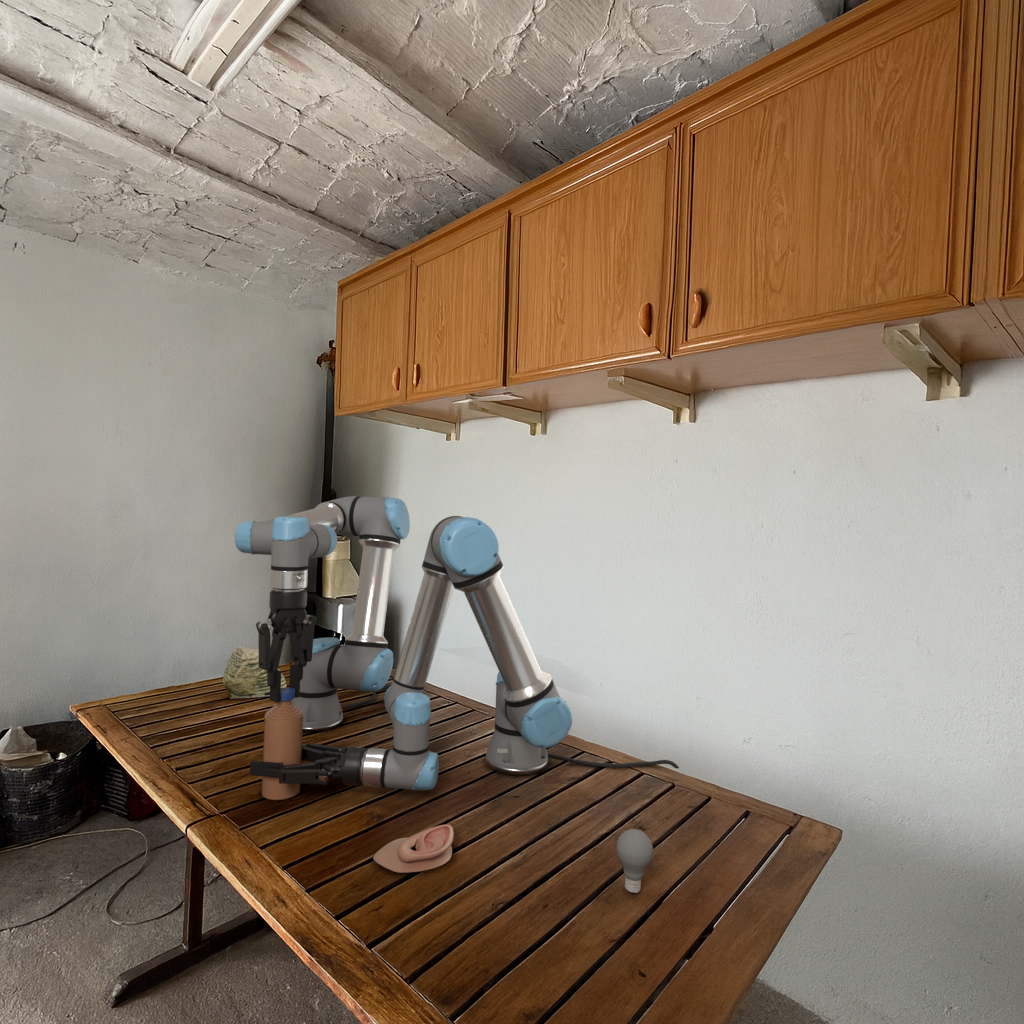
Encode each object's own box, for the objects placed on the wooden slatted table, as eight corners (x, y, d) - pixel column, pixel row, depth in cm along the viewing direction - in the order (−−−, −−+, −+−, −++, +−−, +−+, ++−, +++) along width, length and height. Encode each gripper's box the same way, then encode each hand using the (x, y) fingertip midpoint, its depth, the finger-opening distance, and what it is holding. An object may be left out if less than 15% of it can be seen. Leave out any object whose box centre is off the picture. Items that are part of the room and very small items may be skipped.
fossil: (218, 695, 195) (220, 647, 195) (278, 685, 208) (279, 640, 207) (228, 703, 189) (230, 653, 188) (289, 692, 201) (290, 645, 201)
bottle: (284, 780, 141) (287, 685, 140) (308, 789, 137) (311, 692, 136) (253, 793, 134) (257, 693, 134) (278, 803, 130) (281, 701, 130)
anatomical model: (366, 844, 109) (392, 812, 120) (365, 867, 109) (391, 833, 120) (440, 856, 106) (459, 823, 117) (439, 880, 106) (458, 844, 117)
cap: (299, 697, 136) (299, 689, 136) (284, 702, 132) (284, 694, 132) (284, 693, 138) (285, 686, 138) (269, 698, 134) (270, 691, 134)
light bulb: (610, 879, 108) (613, 822, 108) (644, 879, 109) (647, 822, 109) (619, 902, 102) (622, 840, 102) (655, 901, 103) (658, 840, 103)
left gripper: (262, 595, 126) (257, 712, 126) (332, 588, 139) (328, 693, 140) (241, 590, 130) (237, 703, 130) (311, 584, 144) (308, 686, 144)
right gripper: (348, 807, 124) (235, 799, 125) (377, 764, 145) (280, 757, 146) (350, 770, 124) (237, 762, 125) (378, 731, 145) (281, 725, 146)
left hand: (284, 698), depth 135 cm, fingers closed on cap, 4 cm apart
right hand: (260, 759), depth 136 cm, fingers closed on bottle, 8 cm apart
